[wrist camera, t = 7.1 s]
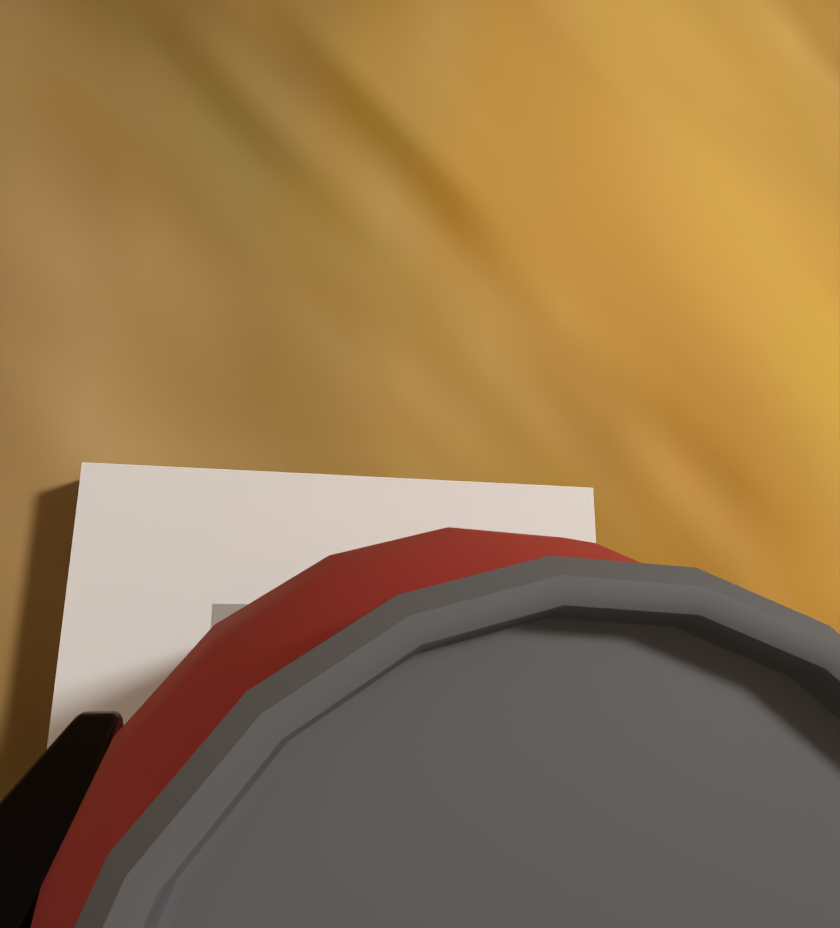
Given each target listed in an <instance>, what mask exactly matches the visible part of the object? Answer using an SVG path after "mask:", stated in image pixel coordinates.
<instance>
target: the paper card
mask: <svg viewBox="0 0 840 928" xmlns="http://www.w3.org/2000/svg"><path fill="white" fill-rule="evenodd" d="M447 527H452V528H463V529H474V530H485V531H497V532H508V533H519V534H530V535H541V536H552V537H563V538H569V539H575V540H580V541H586V542H592V543H596V534H595V515H594V497H593V488H588V487H568V486H548V485H528V484H507V483H487V482H467V481H447V480H427V479H407V478H387V477H367V476H346V475H326V474H306V473H286V472H266V471H246V470H226V469H206V468H186V467H165V466H145V465H125V464H105V463H85V462H82V467H81V475H80V483H79V491H78V499H77V507H76V516H75V524H74V532H73V540H72V548H71V556H70V564H69V572H68V581H67V589H66V597H65V605H64V613H63V621H62V629H61V637H60V646H59V654H58V662H57V670H56V678H55V686H54V694H53V702H52V711H51V719H50V727H49V735H48V743H47V749H48V748H49V746H50V745H51V744H52V743H53V742H54V741H55V740H56V739H57V737H58V736H59V735H60V734H61V733H62V732H63V731H64V730H65V728H66V727H67V726H68V725H69V724H70V723H71V722H72V720H73V719H74V718H75V717H76V716H77V715H79V714H81V713H83V712H86V711H117V712H119V713H120V714H121V716H122V718H123V725H125V724H126V722H127V721H128V720H129V719H130V718H131V717H132V716H133V715H134V714H135V712H136V711H137V710H138V709H139V708H140V707H141V706H142V705H143V704H144V702H145V701H146V700H147V699H148V698H149V697H150V696H151V695H152V694H153V692H154V691H155V690H156V689H157V688H158V687H159V686H160V685H161V684H162V682H163V681H164V680H165V679H166V678H167V677H168V676H169V675H170V674H171V672H172V671H173V670H174V669H175V668H176V667H177V666H178V665H179V663H180V662H181V661H182V660H183V659H184V658H185V657H186V656H187V655H188V653H189V652H190V651H191V650H192V649H193V648H194V647H195V646H196V645H197V643H198V642H199V641H200V640H201V639H202V638H203V637H204V636H205V635H206V633H207V632H208V631H209V630H210V629H211V628H212V627H213V626H214V625H215V624H216V623H218V622H220V621H221V620H223V619H225V618H226V617H228V616H230V615H231V614H233V613H235V612H236V611H238V610H240V609H241V608H243V607H245V606H246V605H248V604H250V603H251V602H253V601H254V600H256V599H258V598H259V597H261V596H263V595H264V594H266V593H268V592H269V591H271V590H273V589H274V588H276V587H278V586H279V585H281V584H283V583H284V582H286V581H288V580H289V579H291V578H293V577H294V576H296V575H298V574H299V573H301V572H302V571H304V570H306V569H307V568H309V567H311V566H312V565H314V564H316V563H317V562H319V561H321V560H322V559H324V558H326V557H327V556H329V555H332V554H337V553H341V552H345V551H349V550H354V549H358V548H362V547H366V546H371V545H375V544H379V543H383V542H387V541H392V540H396V539H400V538H404V537H409V536H413V535H417V534H421V533H426V532H430V531H434V530H438V529H442V528H447Z"/></svg>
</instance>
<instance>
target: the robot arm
mask: <svg viewBox="0 0 840 928" xmlns="http://www.w3.org/2000/svg"><path fill="white" fill-rule="evenodd" d="M123 726H124V725H123V718H122V716H121V714H120V713H119V712H117V711H86V712H83V713H81V714H79V715H77V716H76V717H75V718H74V719H73V720H72V722H71V723H70V724H69V725H68V726H67V727H66V728H65V730H64V731H63V732H62V733H61V734H60V735H59V736H58V737H57V739H56V740H55V741H54V742H53V743H52V744H51V745H50V746H49V748H48V749H47V750H46V751H45V752H44V753H43V754H42V756H41V757H40V758H39V759H38V760H37V761H36V762H35V763H34V765H33V766H32V767H31V768H30V769H29V770H28V771H27V773H26V774H25V775H24V776H23V777H22V778H21V779H20V780H19V782H18V783H17V784H16V785H15V786H14V787H13V788H12V790H11V791H10V792H9V793H8V794H7V795H6V796H5V797H4V799H3V800H2V801H1V802H0V928H30V927H31V923H32V919H33V915H34V911H35V907H36V903H37V899H38V896H39V892H40V888H41V886H42V884H43V881H44V879H45V877H46V875H47V873H48V871H49V869H50V867H51V865H52V863H53V861H54V859H55V857H56V855H57V853H58V851H59V848H60V846H61V844H62V842H63V840H64V838H65V836H66V834H67V832H68V830H69V828H70V826H71V824H72V822H73V820H74V817H75V815H76V813H77V811H78V809H79V807H80V805H81V803H82V801H83V799H84V797H85V795H86V793H87V791H88V789H89V787H90V784H91V782H92V780H93V778H94V776H95V774H96V772H97V770H98V768H99V766H100V764H101V762H102V760H103V758H104V756H105V753H106V751H107V749H108V747H109V745H110V743H111V741H112V739H113V737H114V736H115V735H116V734H117V732H118V731H119V730H120V729H121V728H122V727H123Z"/></svg>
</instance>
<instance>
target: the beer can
mask: <svg viewBox="0 0 840 928" xmlns="http://www.w3.org/2000/svg"><path fill="white" fill-rule="evenodd" d="M30 928H840V634H838V633H837V632H836V631H835V630H834V629H833V628H831V627H830V626H829V625H826V624H824V623H822V622H820V621H817V620H815V619H813V618H810V617H808V616H806V615H803V614H801V613H799V612H797V611H794V610H792V609H790V608H787V607H785V606H783V605H780V604H778V603H776V602H774V601H771V600H769V599H767V598H764V597H762V596H760V595H757V594H755V593H753V592H751V591H748V590H746V589H744V588H741V587H739V586H737V585H734V584H732V583H730V582H728V581H725V580H723V579H721V578H718V577H716V576H714V575H711V574H709V573H707V572H705V571H702V570H700V569H698V568H692V567H680V566H668V565H657V564H645V563H640V562H638V561H635V560H633V559H631V558H629V557H626V556H624V555H622V554H619V553H617V552H615V551H612V550H610V549H608V548H605V547H603V546H601V545H598V544H596V543H592V542H586V541H580V540H575V539H569V538H563V537H552V536H541V535H530V534H519V533H508V532H497V531H485V530H474V529H463V528H452V527H447V528H442V529H438V530H434V531H430V532H426V533H421V534H417V535H413V536H409V537H404V538H400V539H396V540H392V541H387V542H383V543H379V544H375V545H371V546H366V547H362V548H358V549H354V550H349V551H345V552H341V553H337V554H332V555H329V556H327V557H326V558H324V559H322V560H321V561H319V562H317V563H316V564H314V565H312V566H311V567H309V568H307V569H306V570H304V571H302V572H301V573H299V574H298V575H296V576H294V577H293V578H291V579H289V580H288V581H286V582H284V583H283V584H281V585H279V586H278V587H276V588H274V589H273V590H271V591H269V592H268V593H266V594H264V595H263V596H261V597H259V598H258V599H256V600H254V601H253V602H251V603H250V604H248V605H246V606H245V607H243V608H241V609H240V610H238V611H236V612H235V613H233V614H231V615H230V616H228V617H226V618H225V619H223V620H221V621H220V622H218V623H216V624H215V625H214V626H213V627H212V628H211V629H210V630H209V631H208V632H207V633H206V635H205V636H204V637H203V638H202V639H201V640H200V641H199V642H198V643H197V645H196V646H195V647H194V648H193V649H192V650H191V651H190V652H189V653H188V655H187V656H186V657H185V658H184V659H183V660H182V661H181V662H180V663H179V665H178V666H177V667H176V668H175V669H174V670H173V671H172V672H171V674H170V675H169V676H168V677H167V678H166V679H165V680H164V681H163V682H162V684H161V685H160V686H159V687H158V688H157V689H156V690H155V691H154V692H153V694H152V695H151V696H150V697H149V698H148V699H147V700H146V701H145V702H144V704H143V705H142V706H141V707H140V708H139V709H138V710H137V711H136V712H135V714H134V715H133V716H132V717H131V718H130V719H129V720H128V721H127V722H126V724H125V725H124V726H123V727H122V728H121V729H120V730H119V731H118V732H117V734H116V735H115V736H114V737H113V739H112V741H111V743H110V745H109V747H108V749H107V751H106V753H105V756H104V758H103V760H102V762H101V764H100V766H99V768H98V770H97V772H96V774H95V776H94V778H93V780H92V782H91V784H90V787H89V789H88V791H87V793H86V795H85V797H84V799H83V801H82V803H81V805H80V807H79V809H78V811H77V813H76V815H75V817H74V820H73V822H72V824H71V826H70V828H69V830H68V832H67V834H66V836H65V838H64V840H63V842H62V844H61V846H60V848H59V851H58V853H57V855H56V857H55V859H54V861H53V863H52V865H51V867H50V869H49V871H48V873H47V875H46V877H45V879H44V881H43V884H42V886H41V888H40V892H39V896H38V899H37V903H36V907H35V911H34V915H33V919H32V923H31V927H30Z"/></svg>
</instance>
